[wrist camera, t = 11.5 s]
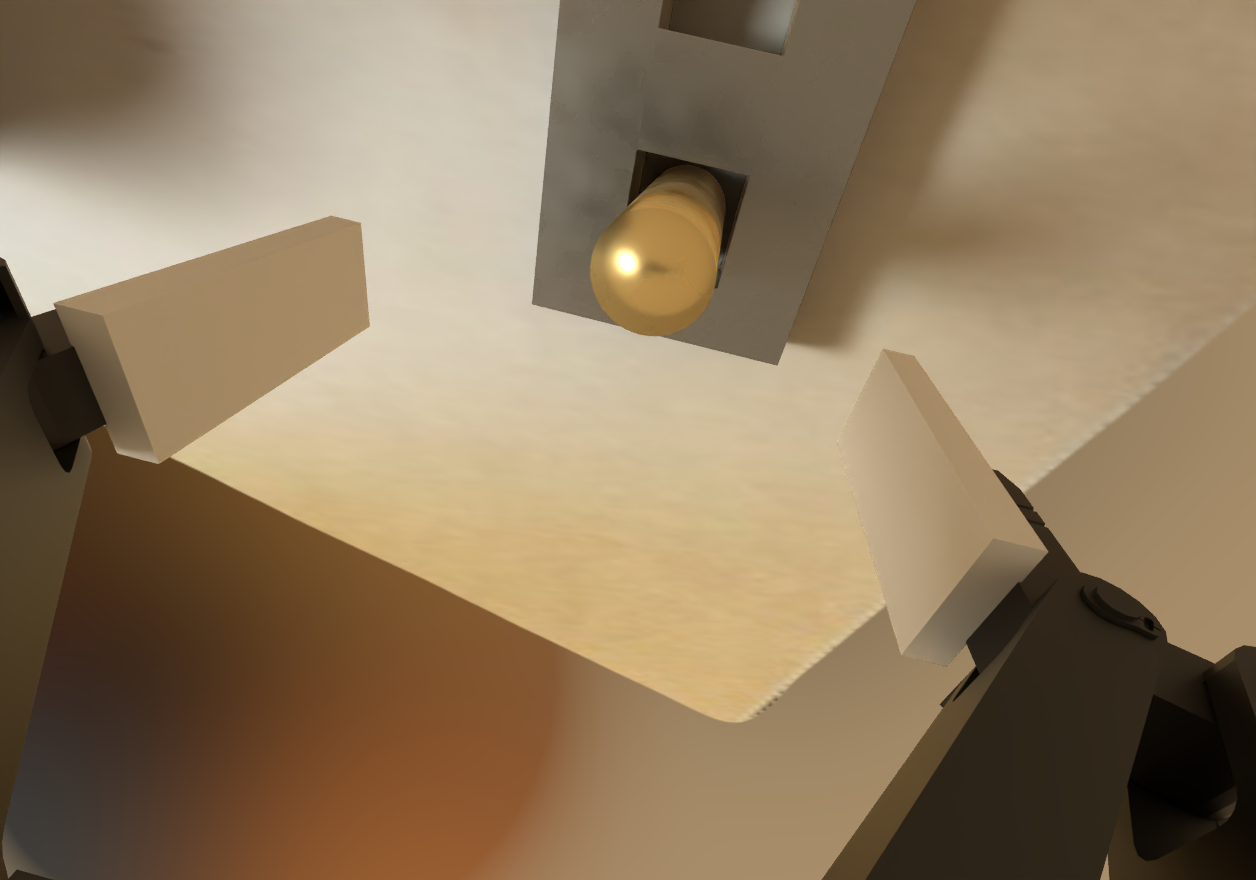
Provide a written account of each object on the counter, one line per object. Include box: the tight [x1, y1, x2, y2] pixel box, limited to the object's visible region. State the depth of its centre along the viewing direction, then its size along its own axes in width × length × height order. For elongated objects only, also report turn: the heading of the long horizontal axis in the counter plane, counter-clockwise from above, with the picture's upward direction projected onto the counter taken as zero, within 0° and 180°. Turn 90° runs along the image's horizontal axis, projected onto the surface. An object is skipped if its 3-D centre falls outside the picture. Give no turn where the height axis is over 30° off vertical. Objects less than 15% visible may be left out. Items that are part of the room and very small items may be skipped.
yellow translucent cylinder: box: [590, 165, 726, 336], centre depth 24 cm, size 4×4×13 cm
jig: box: [532, 0, 916, 365], centre depth 25 cm, size 14×22×4 cm, turn 169°
